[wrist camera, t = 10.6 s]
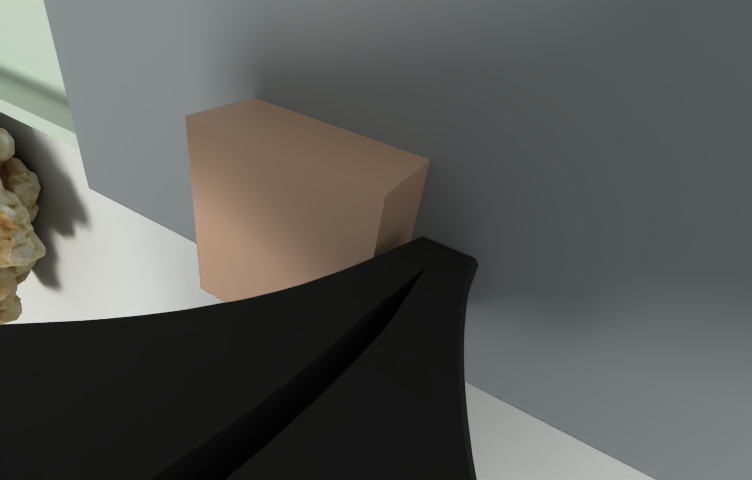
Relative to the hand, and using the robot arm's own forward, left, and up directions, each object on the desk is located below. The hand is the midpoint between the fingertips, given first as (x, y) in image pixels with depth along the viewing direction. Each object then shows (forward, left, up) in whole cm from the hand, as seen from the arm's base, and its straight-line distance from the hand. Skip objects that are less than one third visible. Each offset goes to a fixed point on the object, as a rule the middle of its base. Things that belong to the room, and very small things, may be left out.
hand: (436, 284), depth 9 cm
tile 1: (0, +3, 0) cm, 3 cm away
